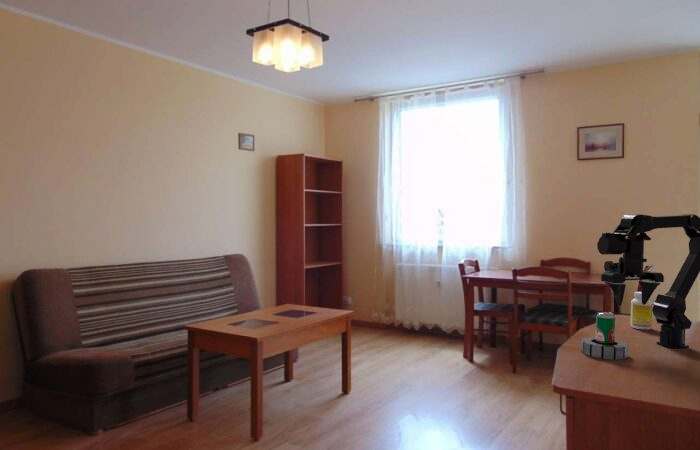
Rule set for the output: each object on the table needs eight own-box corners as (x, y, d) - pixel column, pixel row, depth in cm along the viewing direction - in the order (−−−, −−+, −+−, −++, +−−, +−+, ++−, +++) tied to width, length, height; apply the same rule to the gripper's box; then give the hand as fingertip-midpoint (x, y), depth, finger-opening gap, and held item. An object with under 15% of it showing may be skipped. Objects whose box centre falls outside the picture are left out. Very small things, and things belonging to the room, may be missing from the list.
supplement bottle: (654, 330, 185) (655, 294, 184) (633, 329, 186) (634, 293, 185) (647, 326, 191) (648, 291, 191) (627, 325, 192) (628, 290, 192)
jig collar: (606, 347, 160) (606, 336, 160) (636, 358, 149) (637, 346, 149) (572, 349, 157) (573, 338, 157) (601, 360, 146) (601, 348, 146)
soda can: (591, 351, 156) (592, 311, 155) (608, 351, 156) (609, 311, 155) (600, 356, 150) (601, 315, 150) (617, 356, 151) (619, 315, 150)
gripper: (637, 252, 171) (636, 299, 172) (589, 252, 167) (588, 301, 167) (666, 255, 161) (664, 305, 161) (615, 255, 156) (613, 307, 156)
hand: (631, 304), depth 162 cm, fingers open, 9 cm apart
